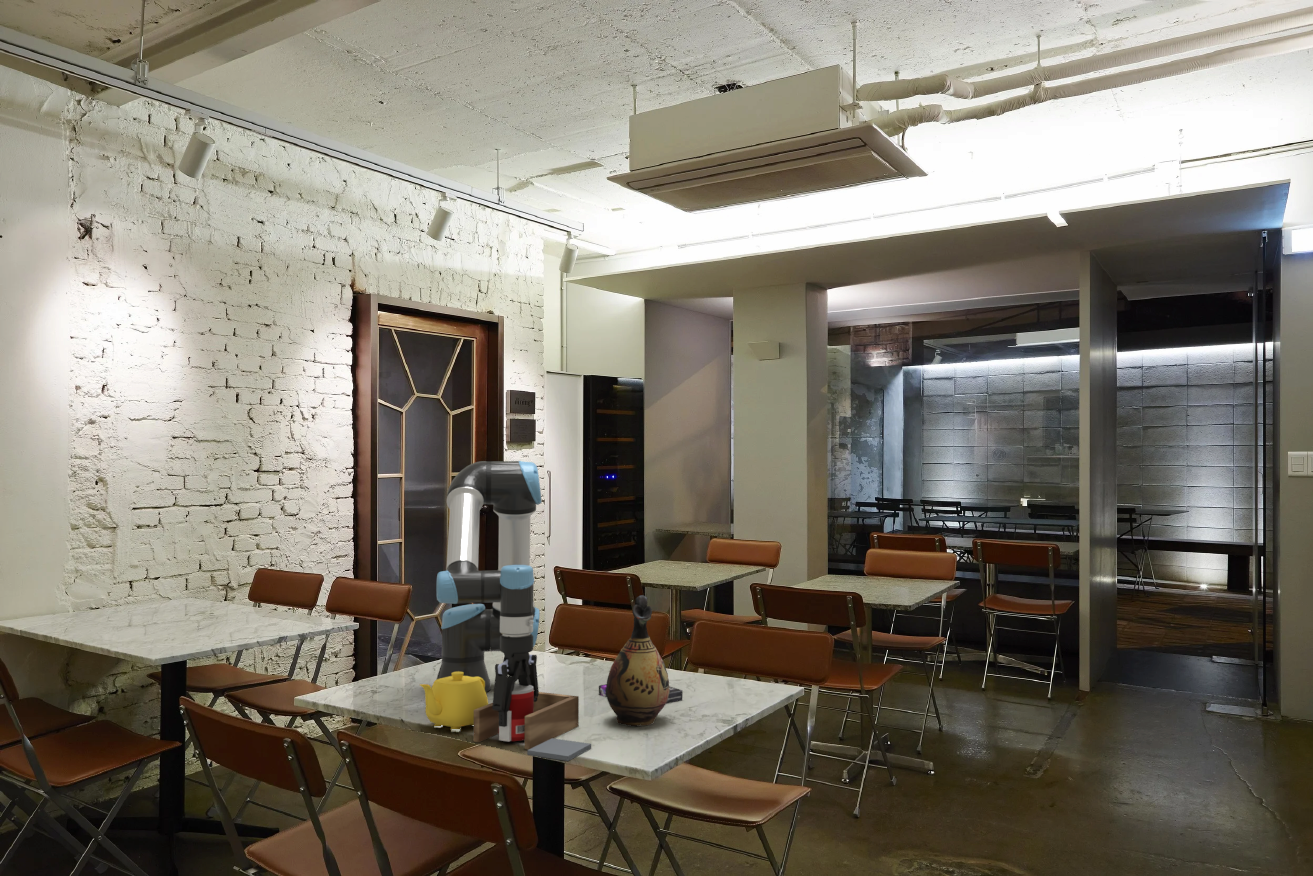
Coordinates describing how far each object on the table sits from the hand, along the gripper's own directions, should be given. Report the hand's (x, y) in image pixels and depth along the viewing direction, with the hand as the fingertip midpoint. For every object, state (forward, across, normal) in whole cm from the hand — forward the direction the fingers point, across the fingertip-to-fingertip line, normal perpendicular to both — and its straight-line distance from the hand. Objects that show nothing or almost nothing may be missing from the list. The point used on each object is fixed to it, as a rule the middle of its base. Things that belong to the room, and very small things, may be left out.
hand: (516, 735), depth 207 cm
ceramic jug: (+1, +26, -18) cm, 32 cm away
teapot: (+1, +2, +19) cm, 19 cm away
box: (+2, +47, -8) cm, 48 cm away
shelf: (+1, +5, 0) cm, 5 cm away
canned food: (0, 0, 0) cm, 0 cm away
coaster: (+1, -4, -14) cm, 15 cm away
